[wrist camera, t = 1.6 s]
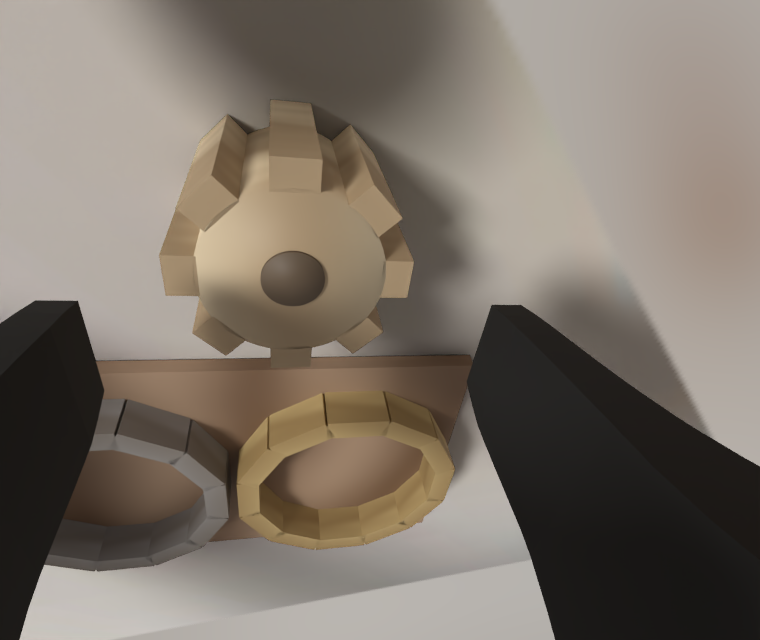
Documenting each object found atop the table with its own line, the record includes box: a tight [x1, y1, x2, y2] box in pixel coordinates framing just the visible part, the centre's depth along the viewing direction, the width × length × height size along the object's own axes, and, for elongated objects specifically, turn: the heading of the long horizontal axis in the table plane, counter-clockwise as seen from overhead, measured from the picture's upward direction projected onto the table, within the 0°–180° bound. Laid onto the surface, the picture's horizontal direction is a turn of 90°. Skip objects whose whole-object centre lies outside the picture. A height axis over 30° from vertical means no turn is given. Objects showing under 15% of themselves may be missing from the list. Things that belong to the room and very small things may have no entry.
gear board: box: [44, 355, 473, 571], centre depth 20 cm, size 18×11×2 cm, turn 83°
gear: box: [159, 100, 414, 368], centre depth 12 cm, size 5×5×4 cm
